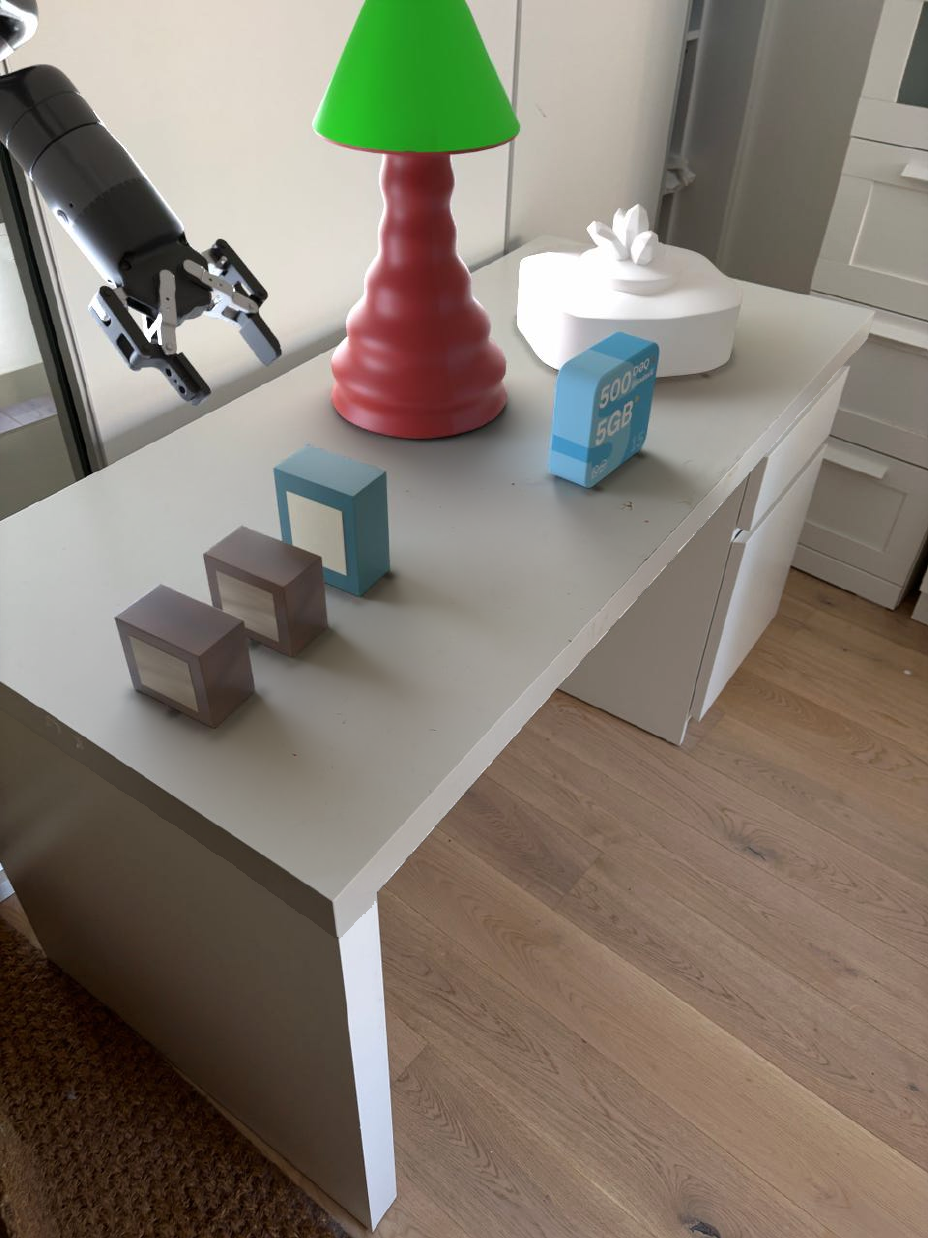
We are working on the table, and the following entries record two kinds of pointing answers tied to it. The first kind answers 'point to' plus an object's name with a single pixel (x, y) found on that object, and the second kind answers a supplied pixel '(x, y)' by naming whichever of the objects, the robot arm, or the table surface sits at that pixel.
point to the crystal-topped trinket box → (628, 298)
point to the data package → (602, 408)
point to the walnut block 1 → (186, 654)
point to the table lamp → (417, 219)
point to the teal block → (336, 515)
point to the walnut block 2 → (268, 588)
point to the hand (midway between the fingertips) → (240, 379)
